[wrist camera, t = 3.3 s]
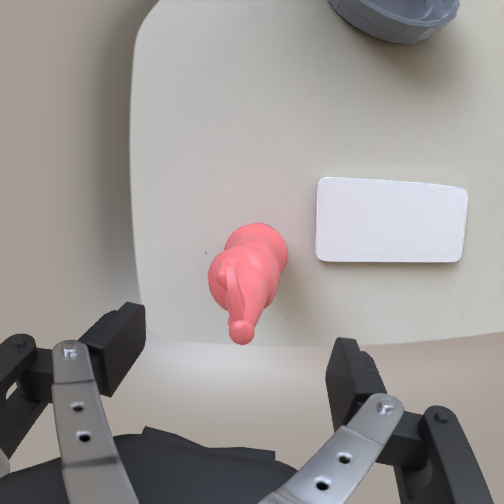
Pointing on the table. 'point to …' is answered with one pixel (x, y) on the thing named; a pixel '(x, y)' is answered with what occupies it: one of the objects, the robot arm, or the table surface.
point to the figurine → (247, 276)
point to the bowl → (398, 17)
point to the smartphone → (389, 221)
